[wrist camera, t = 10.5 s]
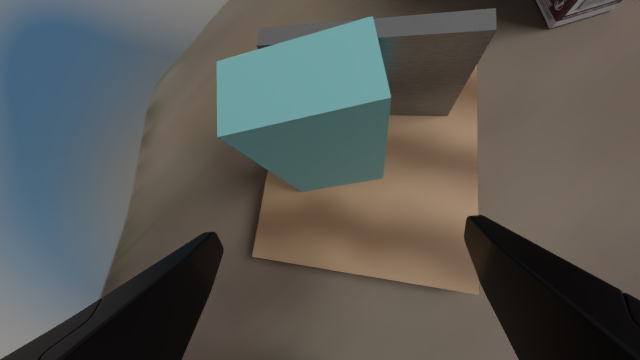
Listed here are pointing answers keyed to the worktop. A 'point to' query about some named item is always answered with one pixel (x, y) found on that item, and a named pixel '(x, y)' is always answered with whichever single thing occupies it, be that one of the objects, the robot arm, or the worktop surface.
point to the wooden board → (389, 208)
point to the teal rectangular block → (309, 107)
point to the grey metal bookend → (418, 55)
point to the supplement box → (573, 10)
